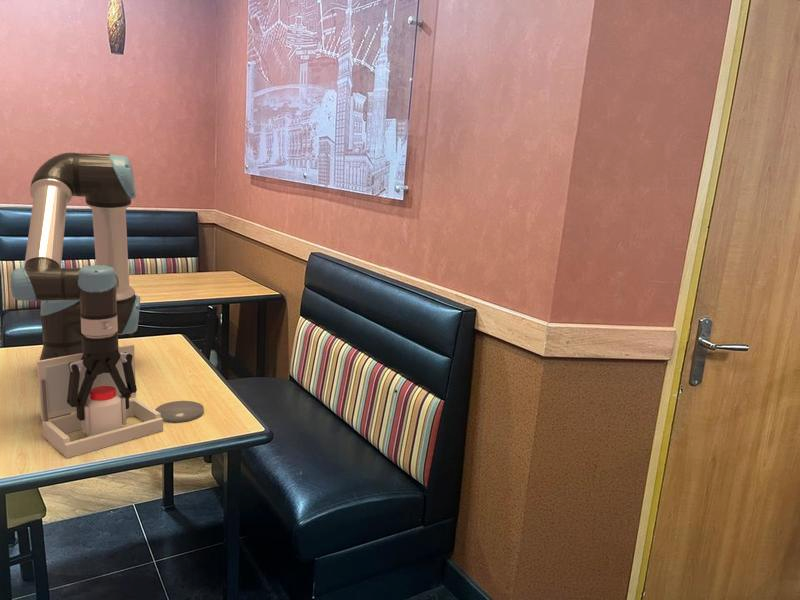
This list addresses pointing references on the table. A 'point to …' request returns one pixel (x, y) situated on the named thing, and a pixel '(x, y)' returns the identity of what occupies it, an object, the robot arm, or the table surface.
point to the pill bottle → (104, 410)
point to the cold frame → (55, 404)
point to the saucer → (180, 411)
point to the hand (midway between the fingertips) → (104, 426)
